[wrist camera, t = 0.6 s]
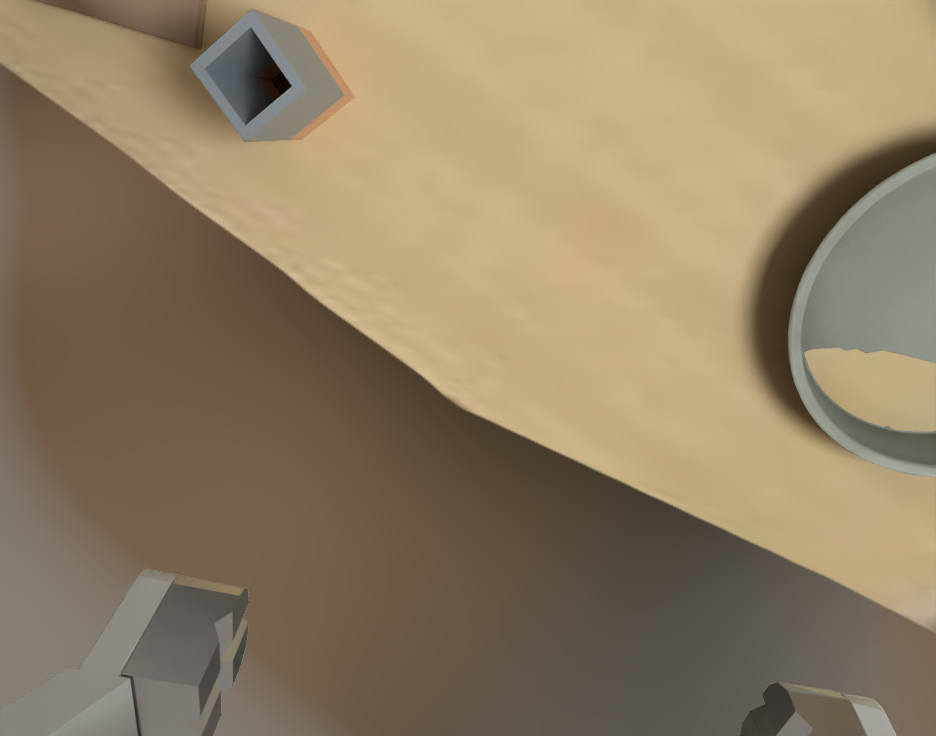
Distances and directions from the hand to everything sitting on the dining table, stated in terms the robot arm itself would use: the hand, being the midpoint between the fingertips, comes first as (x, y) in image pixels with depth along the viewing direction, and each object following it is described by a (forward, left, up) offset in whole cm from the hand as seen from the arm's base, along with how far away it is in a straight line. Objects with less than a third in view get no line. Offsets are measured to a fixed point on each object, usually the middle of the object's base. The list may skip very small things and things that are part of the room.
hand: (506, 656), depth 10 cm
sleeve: (-5, -21, -44) cm, 49 cm away
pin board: (-13, -37, -44) cm, 59 cm away
